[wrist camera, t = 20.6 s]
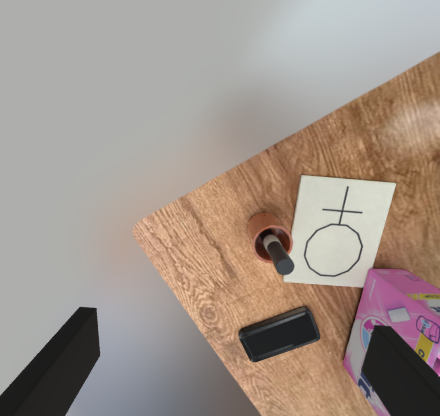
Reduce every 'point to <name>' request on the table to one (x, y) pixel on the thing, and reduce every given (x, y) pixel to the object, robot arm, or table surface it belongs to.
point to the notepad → (337, 229)
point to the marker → (277, 252)
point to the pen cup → (259, 225)
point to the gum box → (394, 322)
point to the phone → (279, 334)
